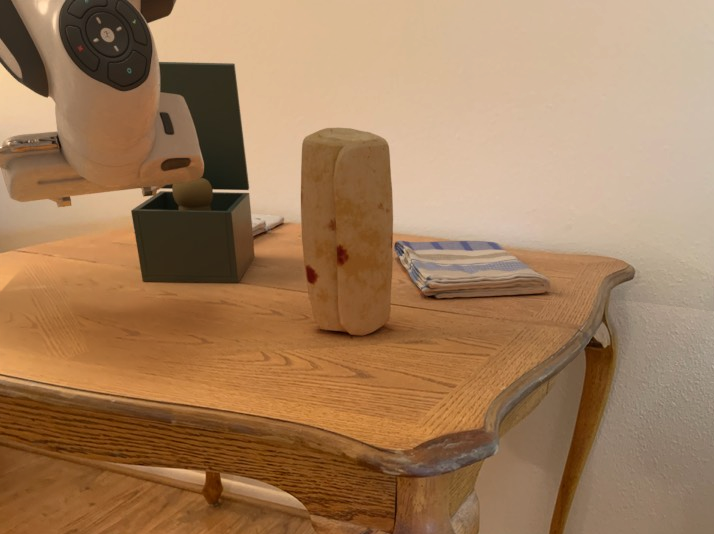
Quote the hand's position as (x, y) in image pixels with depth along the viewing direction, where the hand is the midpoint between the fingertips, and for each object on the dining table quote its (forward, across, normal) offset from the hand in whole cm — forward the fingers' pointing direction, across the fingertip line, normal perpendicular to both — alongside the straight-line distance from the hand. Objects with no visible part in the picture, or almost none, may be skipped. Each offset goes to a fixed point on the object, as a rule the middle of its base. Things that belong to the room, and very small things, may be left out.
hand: (105, 194), depth 87 cm
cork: (+15, +12, -5) cm, 20 cm away
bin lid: (+12, +15, +12) cm, 23 cm away
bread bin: (+16, +12, -5) cm, 21 cm away
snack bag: (+38, +20, +7) cm, 44 cm away
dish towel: (+3, +44, -16) cm, 47 cm away
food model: (-11, +20, -23) cm, 32 cm away
